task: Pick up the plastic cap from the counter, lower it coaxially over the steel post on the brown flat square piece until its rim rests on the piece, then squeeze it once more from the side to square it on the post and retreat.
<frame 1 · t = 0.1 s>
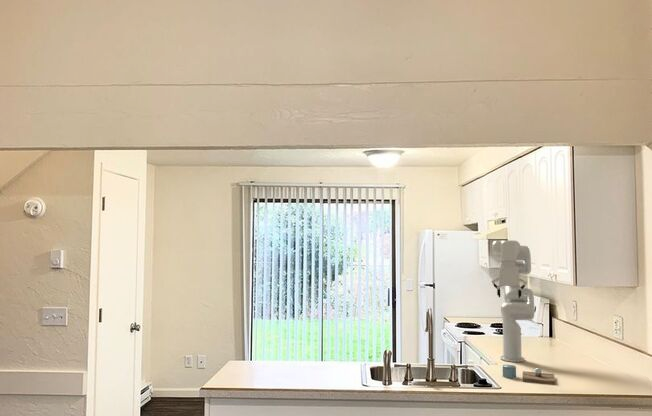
hand: (509, 297, 264), 36 cm above the counter, tool pointing down, fingers open, 9 cm apart
post: (538, 372, 242), on the brown flat square piece, point 3 cm above the counter
brown flat square piece: (538, 379, 242), on the counter
cap: (509, 376, 247), on the counter
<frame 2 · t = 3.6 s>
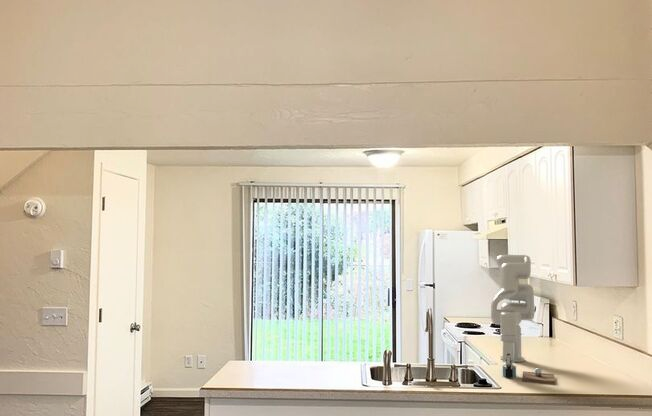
hand: (509, 375, 247), 1 cm above the counter, tool pointing down, fingers closed on cap, 6 cm apart
cap: (509, 376, 247), on the counter, touching gripper
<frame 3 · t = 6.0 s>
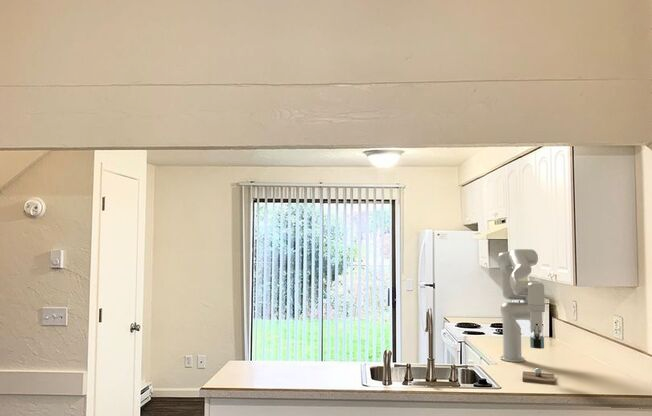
hand: (537, 346, 243), 16 cm above the counter, tool pointing down, fingers closed on cap, 6 cm apart
cap: (537, 347, 243), point 15 cm above the counter, touching gripper
when the fingers open (3 cm above the counter, at t = 8.4 s): cap stays where it is, resting on brown flat square piece.
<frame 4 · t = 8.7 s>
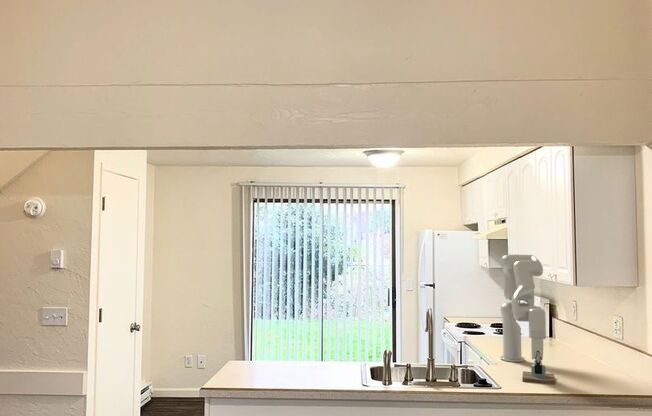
hand: (538, 371, 242), 4 cm above the counter, tool pointing down, fingers open, 9 cm apart
cap: (538, 376, 242), point 1 cm above the counter, touching brown flat square piece
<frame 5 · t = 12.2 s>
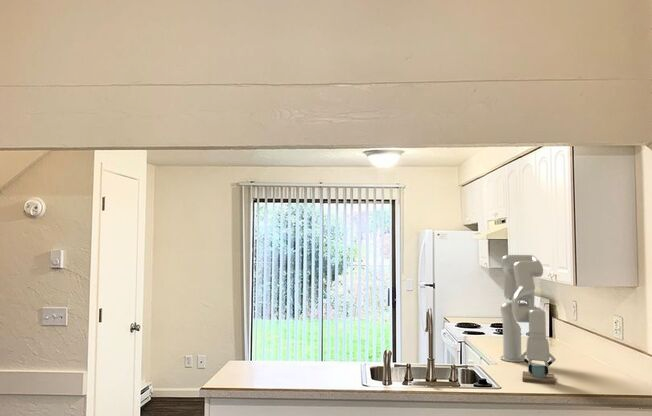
hand: (538, 373, 242), 3 cm above the counter, tool pointing down, fingers closed on cap, 6 cm apart
cap: (538, 376, 242), point 2 cm above the counter, touching brown flat square piece, gripper
when the fingers open (3 cm above the counter, at t = 13.4 s): cap stays where it is, resting on brown flat square piece.
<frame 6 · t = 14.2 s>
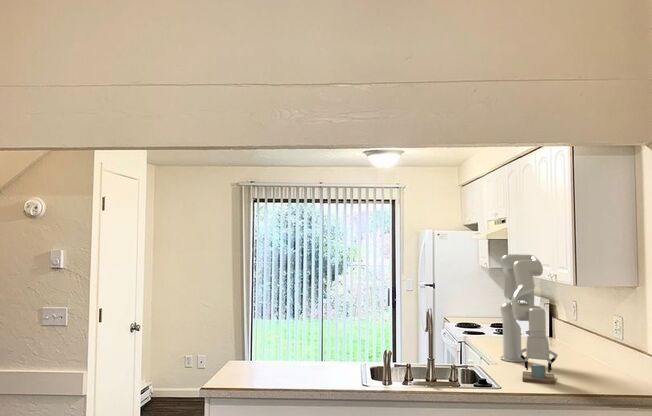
hand: (538, 370, 242), 4 cm above the counter, tool pointing down, fingers open, 9 cm apart
cap: (538, 376, 242), point 1 cm above the counter, touching brown flat square piece
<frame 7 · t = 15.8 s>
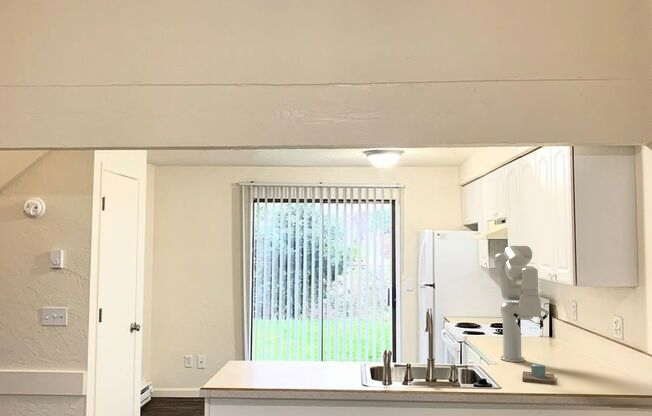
hand: (530, 327, 251), 23 cm above the counter, tool pointing down, fingers open, 9 cm apart
nothing on the counter moved.
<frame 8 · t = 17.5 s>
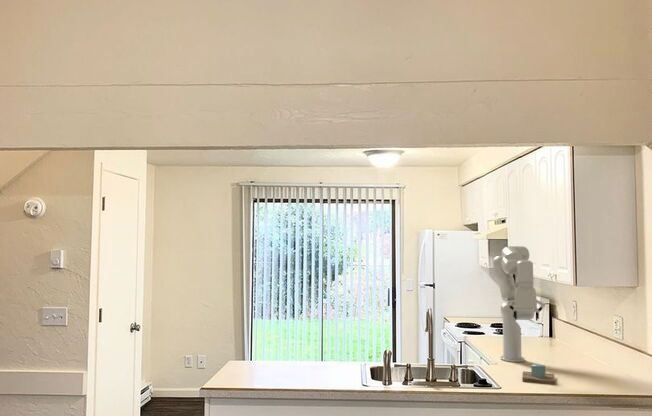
hand: (526, 319, 255), 26 cm above the counter, tool pointing down, fingers open, 9 cm apart
nothing on the counter moved.
at the end: cap 0.1 cm off-centre on the brown flat square piece, point 1.5 cm above the brown flat square piece's base; cap tilted 0°; the gripper is holding nothing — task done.
